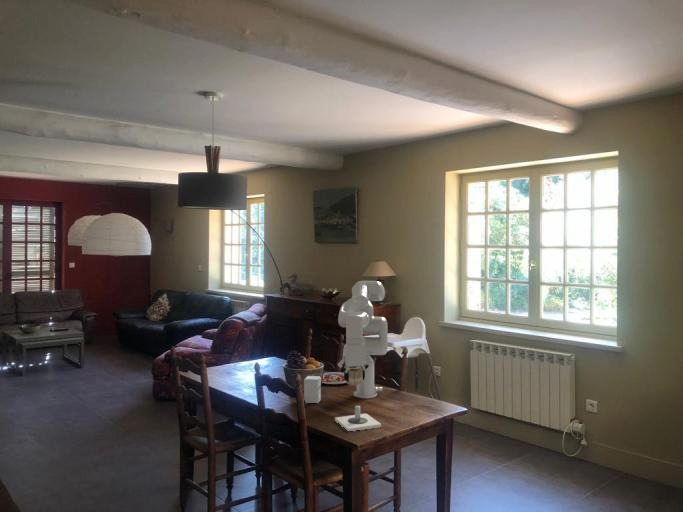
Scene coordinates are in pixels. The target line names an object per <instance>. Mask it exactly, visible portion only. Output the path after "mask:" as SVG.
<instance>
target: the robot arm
mask: <svg viewBox="0 0 683 512" xmlns="http://www.w3.org/2000/svg"><path fill="white" fill-rule="evenodd" d="M351 294H352V296H351V298H349V299H347V300H346V301H345V302H343V304H342V305H341V306H340V309H339V313H338V318H337V321H338V325H339V326H340V327H341V328H345V331H346V332H345V337H346V338H345V341H346V342H345V343H344V346H343V351H342V359H341V360H339V362H338V363H337V366H338V367H339V369H340V370H341V371H342V373H344V379H345V381H347V382H348V381H349V373H348V370H349V368H361V369H362V370H363V383H362V384H359V385H356V391H354V392H353V397H355V398H359V399H373V398H375V397H377V396H378V392H382V391H383V387H382V386H380V387H379V386H375V362H374V359H373V358H372V356H385V355H386V354H387V352H388V344H389V341H388V337H389V336H388V335H389V334H388V333H389V332H388V329H389V328H388V320H387V319H386V318H385V317H384V316H374V305H373V304H372V302H380V301H383V300H384V298H385V295H386V291H385V286H384V285H383V283H382V282H380V281H378V280H359V281H357V282H356V283H355V284H354V285H353V286H352V288H351ZM364 335H377V336H364Z"/></svg>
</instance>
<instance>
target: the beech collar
mask: <svg viewBox="0 0 683 512" xmlns="http://www.w3.org/2000/svg"><path fill="white" fill-rule="evenodd" d="M348 373H349V381H348V382H347V381H346V383H345V384H347V385H352V386H357V385H359V384H362V383H363V370H362V369H361V368H357V367H350V368H349V370H348Z"/></svg>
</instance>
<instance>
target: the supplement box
mask: <svg viewBox="0 0 683 512" xmlns="http://www.w3.org/2000/svg"><path fill="white" fill-rule="evenodd" d="M321 386H322V383H321V377H320V376H314V375H307V376H306V377H305V378H304V379H303V401H304V400H305V402H306V403H305V404H307V403H318V404H319V402H320V401H321V399H322V393H321V389H322V387H321Z"/></svg>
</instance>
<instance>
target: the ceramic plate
mask: <svg viewBox="0 0 683 512" xmlns="http://www.w3.org/2000/svg"><path fill="white" fill-rule="evenodd" d="M323 373H324V374H323V382H322V383H321V384H323V383H324V385H330V384H331V385H335V386H337V385H343V384H347V383H346V381H345V379H344V372H341V371H340V372H339V371H337V372H336V371H330V372H323Z"/></svg>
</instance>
